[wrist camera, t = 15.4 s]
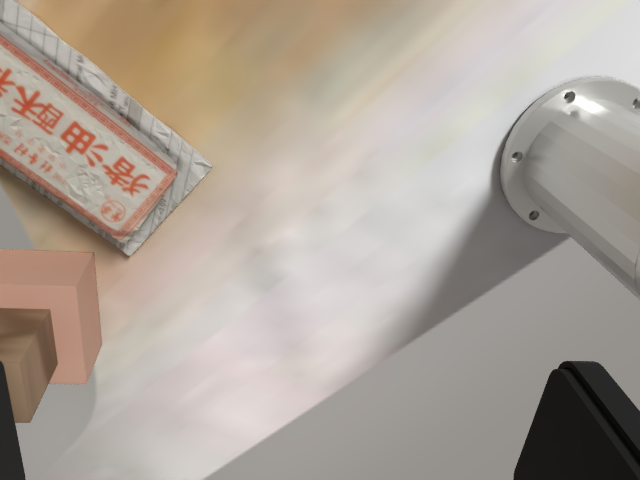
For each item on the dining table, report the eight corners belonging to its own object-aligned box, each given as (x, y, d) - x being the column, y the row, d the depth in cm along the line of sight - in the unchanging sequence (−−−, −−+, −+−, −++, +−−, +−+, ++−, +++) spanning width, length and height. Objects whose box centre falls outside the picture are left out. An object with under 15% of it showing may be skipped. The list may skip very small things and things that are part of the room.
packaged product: (-130, 110, 34) (-42, -19, 31) (-87, 92, 38) (-6, -23, 36) (121, 280, 41) (211, 186, 38) (134, 248, 45) (215, 161, 43)
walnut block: (50, 309, 41) (19, 363, 35) (57, 363, 43) (30, 422, 38) (-25, 307, 40) (-67, 362, 35) (-13, 363, 42) (-51, 422, 37)
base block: (93, 252, 45) (75, 286, 40) (102, 344, 49) (86, 384, 44) (-29, 247, 43) (-62, 282, 39) (-10, 342, 47) (-38, 382, 43)
